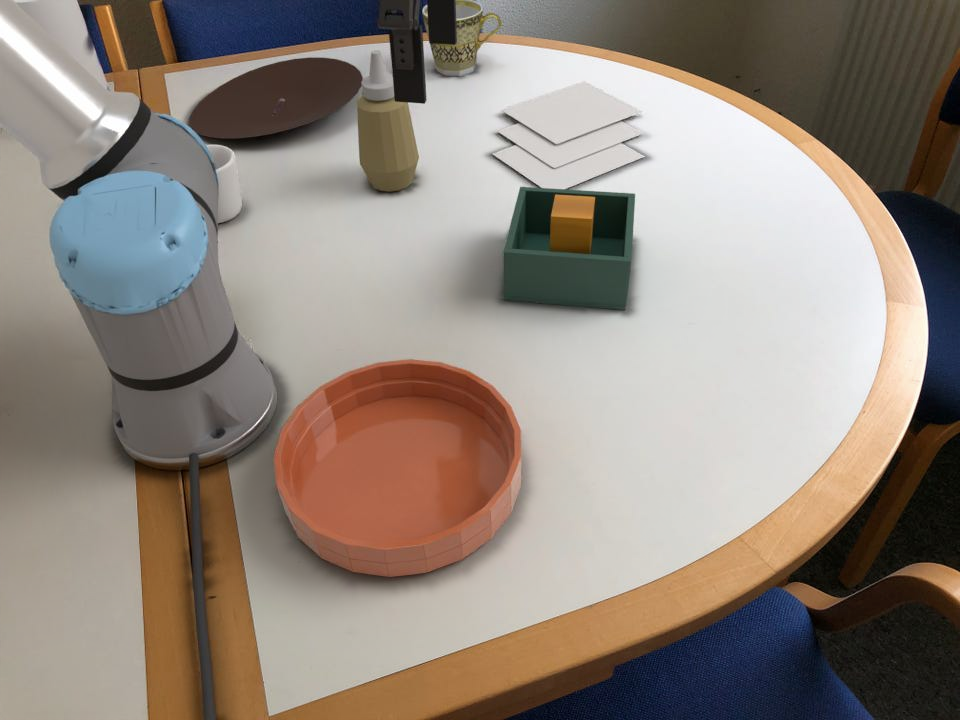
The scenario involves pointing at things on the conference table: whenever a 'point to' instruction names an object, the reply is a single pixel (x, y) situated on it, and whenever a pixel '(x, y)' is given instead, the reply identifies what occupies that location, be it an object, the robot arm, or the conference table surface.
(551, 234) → the block
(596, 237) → the bin
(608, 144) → the paper stack
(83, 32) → the container
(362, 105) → the squeeze bottle
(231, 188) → the cup
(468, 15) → the ceramic cup
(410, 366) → the bowl
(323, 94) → the plate
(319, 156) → the conference table surface
